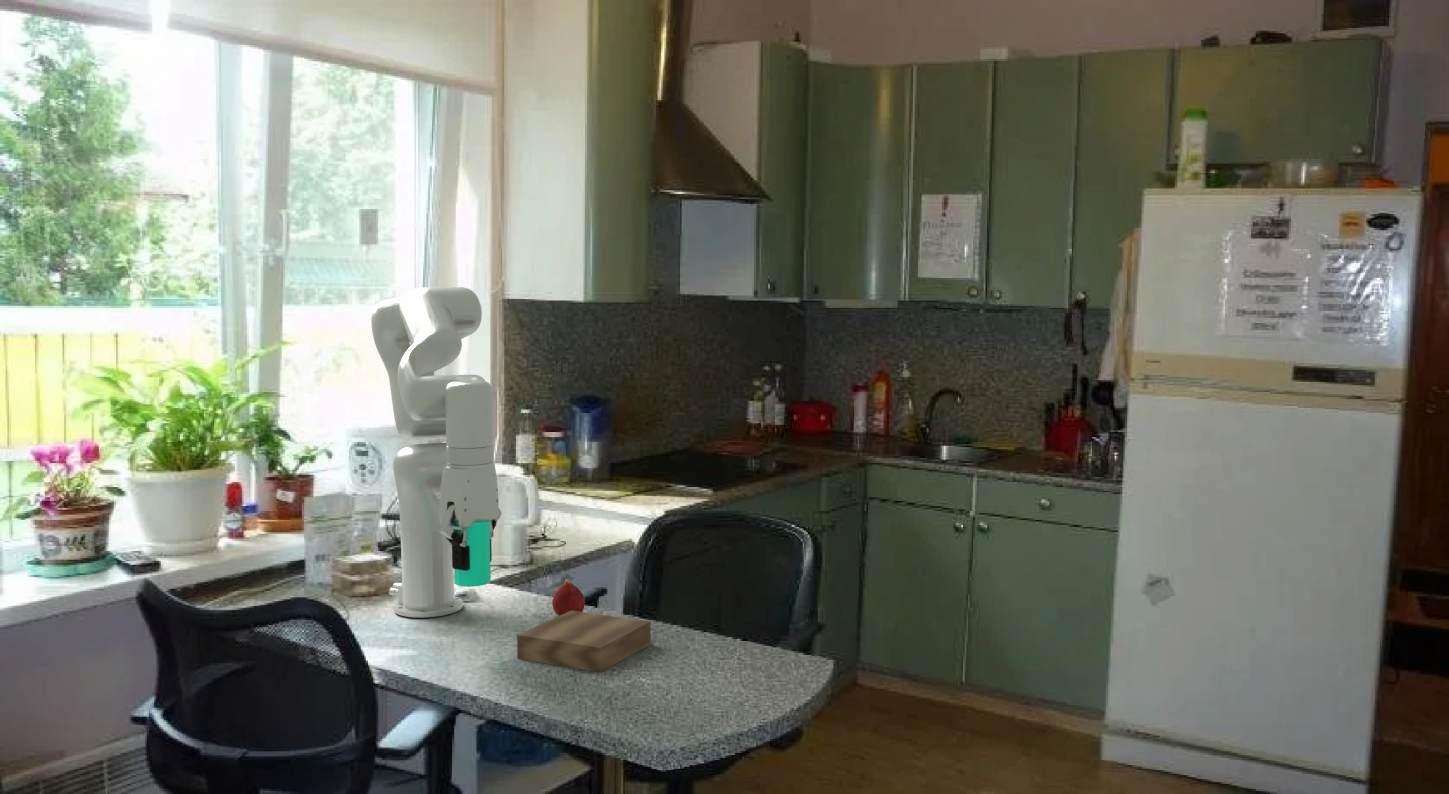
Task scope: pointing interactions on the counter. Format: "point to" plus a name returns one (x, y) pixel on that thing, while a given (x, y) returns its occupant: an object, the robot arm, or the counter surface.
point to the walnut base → (584, 640)
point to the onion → (568, 599)
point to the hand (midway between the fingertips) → (472, 564)
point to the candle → (476, 556)
